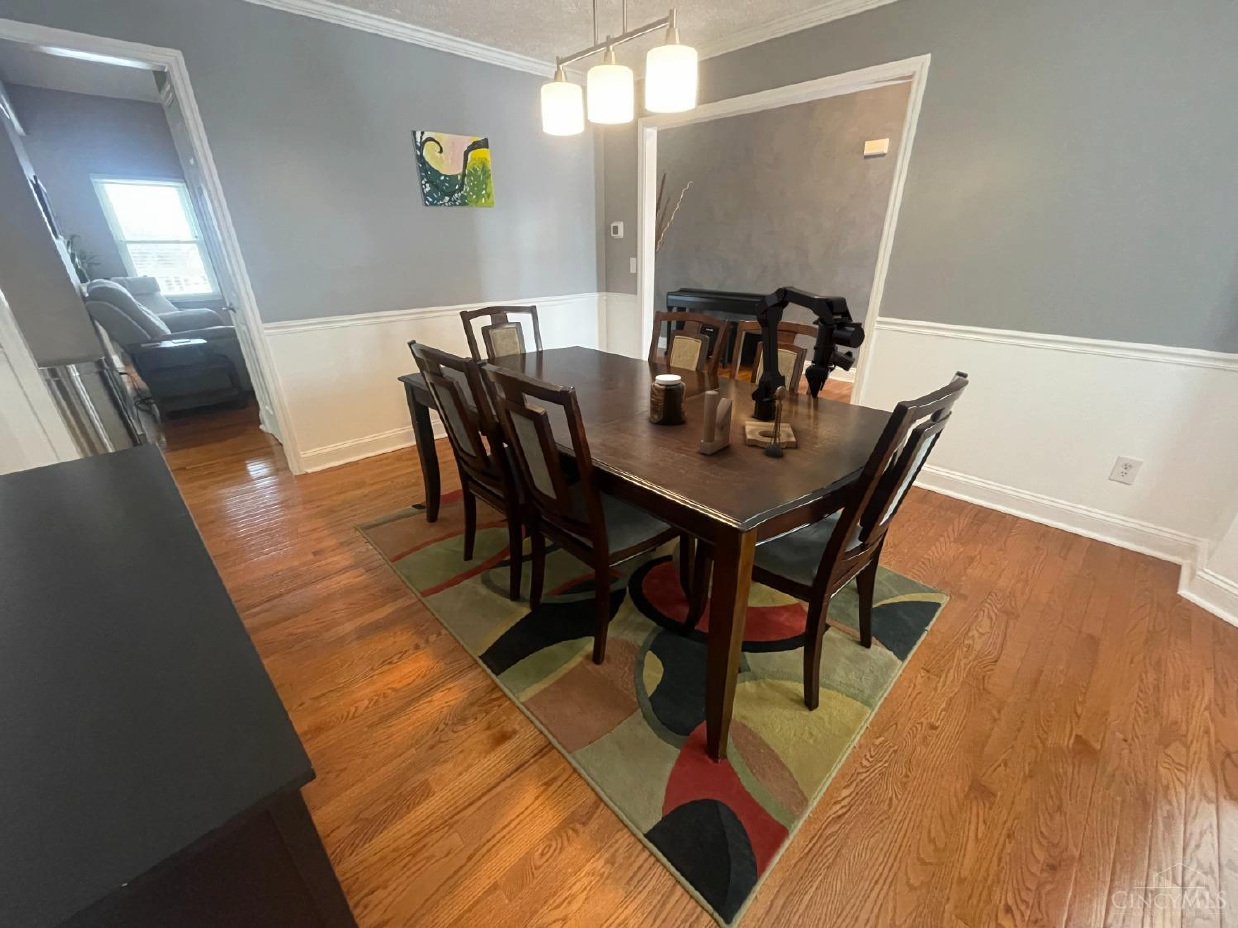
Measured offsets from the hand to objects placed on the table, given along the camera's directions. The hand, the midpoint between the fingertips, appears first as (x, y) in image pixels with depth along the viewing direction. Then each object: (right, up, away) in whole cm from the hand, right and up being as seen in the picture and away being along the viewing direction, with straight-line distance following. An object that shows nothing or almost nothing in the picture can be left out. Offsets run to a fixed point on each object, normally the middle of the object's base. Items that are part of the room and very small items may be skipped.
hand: (817, 394), depth 149 cm
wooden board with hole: (-13, -13, +5) cm, 19 cm away
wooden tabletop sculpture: (-16, -19, -8) cm, 26 cm away
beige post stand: (-32, -17, -3) cm, 36 cm away
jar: (-44, -6, +22) cm, 49 cm away
